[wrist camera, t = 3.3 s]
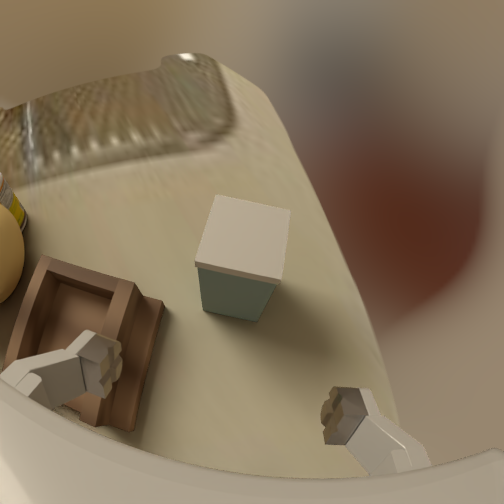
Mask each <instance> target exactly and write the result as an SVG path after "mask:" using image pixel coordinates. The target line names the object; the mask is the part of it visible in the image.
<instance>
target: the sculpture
mask: <svg viewBox="0 0 504 504" xmlns="http://www.w3.org/2000/svg"><path fill="white" fill-rule="evenodd" d="M23 265H24V241H23V236H22V233H21V230H20V227H19V225H18V223H17V221H16V219H15V218H14V216H13V215H12V214H11V212H10V211H9V210H8V209H7V208H5V207H4V206H3V205H1V204H0V303H2V302H3V301H4V300H6V299H7V298H8V297H9V296H10V295H11V294H12V292H13V291H14V289H15V288H16V286H17V284H18V282H19V279H20V277H21V274H22V270H23Z"/></svg>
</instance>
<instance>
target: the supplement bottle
mask: <svg viewBox="0 0 504 504" xmlns="http://www.w3.org/2000/svg"><path fill="white" fill-rule="evenodd" d="M0 204H1V205H3V206H4V207H5V208H7V209H8V210H9V211H10V212H11V214H12V215H13V216H14V218H15V219H16V221H17V223H18V225H19V227H20V230H21V232H22V231H23V229H24V227H25V224H26V220H27V214H26V211H25V209H24V208H23V206H22V205H21V203H20V202H19V200H18V199H17V197H16V196H15V194H14V193H13V191H12V190H11V188H10V186H9V185H8V183H7V182H6V180H5V179H4V177H3V175H2V174H1V172H0Z"/></svg>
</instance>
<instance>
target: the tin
mask: <svg viewBox="0 0 504 504" xmlns="http://www.w3.org/2000/svg"><path fill="white" fill-rule="evenodd" d="M290 214H291V210H287V209H282V208H278V207H274V206H269V205H265V204H260V203H256V202H251V201H246V200H242V199H237V198H232V197H227V196H222V195H217V194H216V196H215V199H214V202H213V205H212V208H211V211H210V214H209V217H208V220H207V223H206V226H205V229H204V233H203V236H202V239H201V242H200V245H199V249H198V252H197V255H196V258H195V267H198V275H199V284H200V292H201V300H202V307H203V310H204V311H208V312H213V313H217V314H221V315H226V316H231V317H235V318H240V319H245V320H250V321H254V322H257V321H258V319H259V317H260V315H261V313H262V311H263V310H264V308H265V306H266V304H267V302H268V300H269V298H270V296H271V294H272V293H273V291H274V289H275V287H276V285H279V284H280V282H281V280H282V273H283V266H284V259H285V252H286V245H287V237H288V230H289V222H290Z"/></svg>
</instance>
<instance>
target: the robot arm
mask: <svg viewBox="0 0 504 504" xmlns="http://www.w3.org/2000/svg"><path fill="white" fill-rule="evenodd" d="M121 351H122V348H121V343H120V342H119V341H117V340H114V339H111V338H108V337H106V336H103V335H101V334H97V333H95V332H92V331H90V330H85V331H83V332H82V333H81V334H80V335H79V336H78V337H77V338H76V339H75V340H74V341H73V342H72V343H71V344H70V345H69V346H68V347H67V348H66V350H64V349H59V350H55V351H52V352H48V353H44V354H40V355H36V356H32V357H28V358H24V359H20V360H15V361H14V362H13V363H12V364H11V365H9V366H8V367H7V368H6V369H5V370H4V371H3V372H2V373H1V374H0V504H504V451H502V450H500V449H498V448H491V449H488V450H486V451H483V452H480V453H477V454H474V455H471V456H468V457H465V458H461V459H458V460H455V461H451V462H447V463H444V464H439V465H435V466H432V464H431V462H430V459H429V457H428V455H427V453H426V450H425V448H424V446H423V445H422V444H421V443H419V442H418V441H417V440H415V439H414V438H413V437H411V436H410V435H409V434H407V433H406V432H405V431H404V430H402V429H401V428H400V427H398V426H397V425H396V424H394V423H393V422H392V421H391V420H389V419H388V418H387V417H385V416H381V414H380V412H379V409H378V407H377V404H376V402H375V399H374V397H373V394H372V392H371V390H370V389H369V388H351V387H336V386H334V387H333V388H332V389H331V390H330V392H329V396H330V398H329V399H328V400H326V401H325V402H324V404H323V406H322V410H321V423H322V424H323V425H324V426H325V429H324V431H323V436H324V441H325V444H328V445H345V447H346V448H347V449H348V450H349V452H350V453H351V454H352V455H353V456H354V457H355V459H356V460H357V461H358V462H359V463H360V464H361V466H362V467H363V468H364V469H365V470H366V471H367V472H368V474H369V476H366V477H353V478H330V479H306V478H283V477H270V476H260V475H251V474H243V473H236V472H230V471H224V470H218V469H213V468H208V467H203V466H198V465H194V464H189V463H185V462H181V461H177V460H173V459H170V458H166V457H163V456H159V455H156V454H153V453H150V452H146V451H143V450H140V449H137V448H135V447H132V446H129V445H126V444H123V443H121V442H118V441H116V440H113V439H111V438H108V437H106V436H103V435H101V434H98V433H96V432H94V431H92V430H89V429H87V428H85V427H83V426H81V425H79V424H77V423H74V422H72V421H70V420H68V419H66V418H64V417H63V416H61V415H59V414H57V413H55V412H53V411H52V409H54V408H56V407H58V406H60V405H62V404H64V403H66V402H68V401H70V400H72V399H74V398H76V397H78V396H80V395H82V394H84V393H86V392H89V393H91V394H94V395H96V396H99V397H101V398H104V399H105V398H106V397H107V395H108V394H109V392H110V391H111V389H112V383H113V382H115V381H117V380H118V378H119V376H120V374H121V371H122V358H121V357H120V355H119V353H120V352H121Z"/></svg>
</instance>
